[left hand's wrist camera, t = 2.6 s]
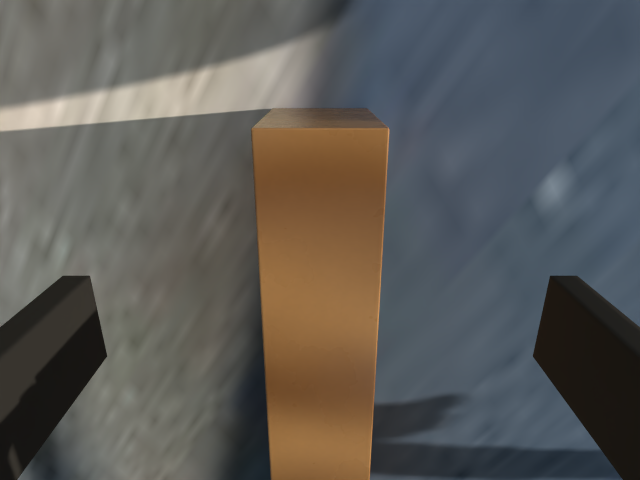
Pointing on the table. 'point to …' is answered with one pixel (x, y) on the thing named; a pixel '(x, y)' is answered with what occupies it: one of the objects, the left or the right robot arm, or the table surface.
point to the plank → (320, 284)
